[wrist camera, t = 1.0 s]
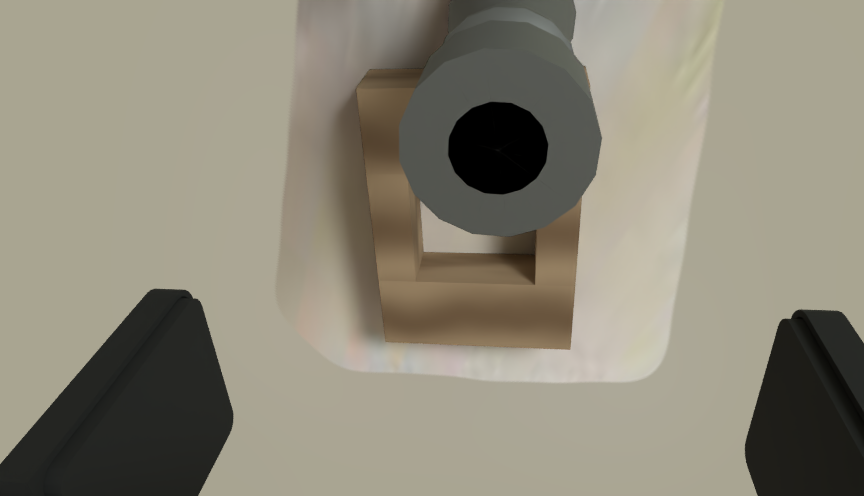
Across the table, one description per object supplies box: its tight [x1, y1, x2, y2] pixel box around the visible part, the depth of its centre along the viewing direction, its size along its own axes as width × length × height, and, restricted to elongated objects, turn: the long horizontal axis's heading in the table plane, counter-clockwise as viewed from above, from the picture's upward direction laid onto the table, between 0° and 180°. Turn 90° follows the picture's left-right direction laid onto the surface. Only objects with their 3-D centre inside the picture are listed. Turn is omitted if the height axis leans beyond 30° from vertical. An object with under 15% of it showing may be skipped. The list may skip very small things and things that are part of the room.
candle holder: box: [399, 0, 602, 237], centre depth 29 cm, size 6×6×25 cm
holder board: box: [356, 66, 590, 350], centre depth 46 cm, size 20×14×4 cm
